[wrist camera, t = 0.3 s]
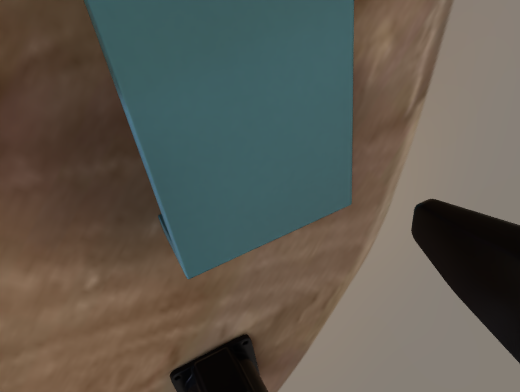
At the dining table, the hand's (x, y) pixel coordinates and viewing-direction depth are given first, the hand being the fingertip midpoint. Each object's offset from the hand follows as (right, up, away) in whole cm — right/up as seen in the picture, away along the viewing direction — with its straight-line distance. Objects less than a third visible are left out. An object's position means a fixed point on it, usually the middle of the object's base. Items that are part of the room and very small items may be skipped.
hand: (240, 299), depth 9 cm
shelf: (-2, +8, +13) cm, 15 cm away
